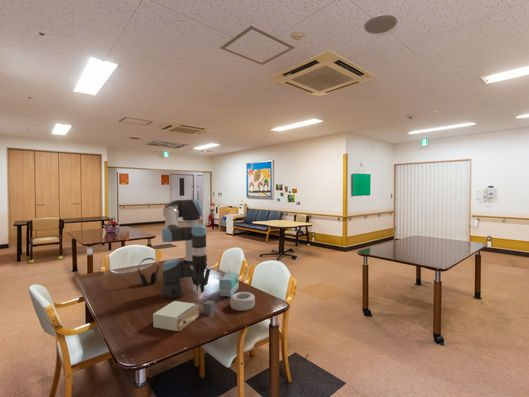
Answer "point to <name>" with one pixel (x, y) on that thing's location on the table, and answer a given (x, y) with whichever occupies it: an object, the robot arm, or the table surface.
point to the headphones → (153, 276)
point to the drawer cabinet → (170, 315)
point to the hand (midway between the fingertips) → (200, 297)
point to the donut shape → (242, 301)
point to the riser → (209, 307)
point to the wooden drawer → (188, 317)
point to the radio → (229, 284)
